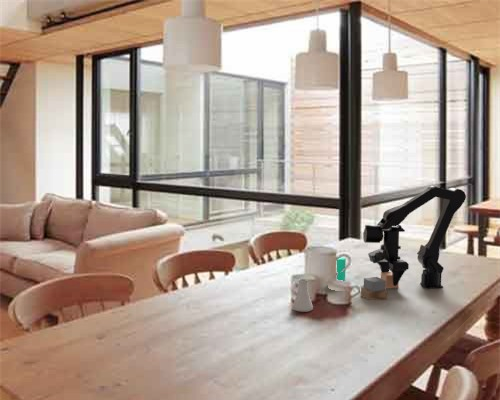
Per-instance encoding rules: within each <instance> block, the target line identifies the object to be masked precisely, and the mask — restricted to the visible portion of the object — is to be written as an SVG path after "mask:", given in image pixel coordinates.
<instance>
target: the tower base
mask: <svg viewBox="0 0 500 400" xmlns="http://www.w3.org/2000/svg"><path fill="white" fill-rule="evenodd" d="M360 295H361V296H362V297H363V298H365V300H367V301H382V300H383V301H384V300H386V301H387V300H388V290H387V289H385V290H383V291H374V292H371V291H369V290H367V289H365V288H364V285H363V286H360Z"/></svg>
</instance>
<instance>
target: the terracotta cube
mask: <svg viewBox="0 0 500 400" xmlns="http://www.w3.org/2000/svg"><path fill="white" fill-rule="evenodd" d="M380 278H381V279H383V280H385V281H386V284H385V289H393V288H394V289H396V288H399V282H400V281H399V282H398V284H397V286H394V285H393V276H392V272H391V271H389V272H381V271H380Z"/></svg>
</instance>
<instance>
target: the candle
mask: <svg viewBox="0 0 500 400" xmlns="http://www.w3.org/2000/svg"><path fill="white" fill-rule="evenodd" d="M340 257H341V258H339V259H338V260H337V272H338V275H337V279H338V280H343V281H345V282H346V261H347V259H346V257H343V256H340ZM344 268H345V270H344V271H343V272H341V271H342V270H343V269H344ZM340 272H341V273H340Z"/></svg>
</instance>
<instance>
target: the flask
mask: <svg viewBox="0 0 500 400" xmlns="http://www.w3.org/2000/svg"><path fill="white" fill-rule="evenodd" d="M297 282H298V290H297V294H296V296H295V299H294V302H293V304H292V308H291V310H293V311H296V312H301V313H302V312H303V313H305V312H311V311H313V309H314V306H313V303H312V300H311V298H310V294H309V290H308V286H307V285H308V282H309V281H308V279H306V278H299V279H298V280H297Z"/></svg>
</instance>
